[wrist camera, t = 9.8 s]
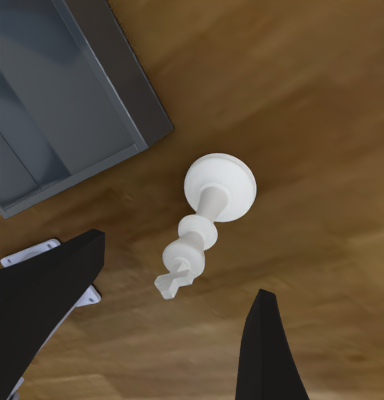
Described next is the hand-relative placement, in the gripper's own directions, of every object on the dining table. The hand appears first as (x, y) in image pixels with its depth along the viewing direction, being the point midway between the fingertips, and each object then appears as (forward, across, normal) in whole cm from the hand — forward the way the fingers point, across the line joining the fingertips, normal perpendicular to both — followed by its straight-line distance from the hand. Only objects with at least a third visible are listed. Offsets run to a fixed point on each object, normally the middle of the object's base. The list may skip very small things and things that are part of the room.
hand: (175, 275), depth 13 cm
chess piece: (+9, 0, 0) cm, 9 cm away
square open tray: (+9, +14, -4) cm, 17 cm away
